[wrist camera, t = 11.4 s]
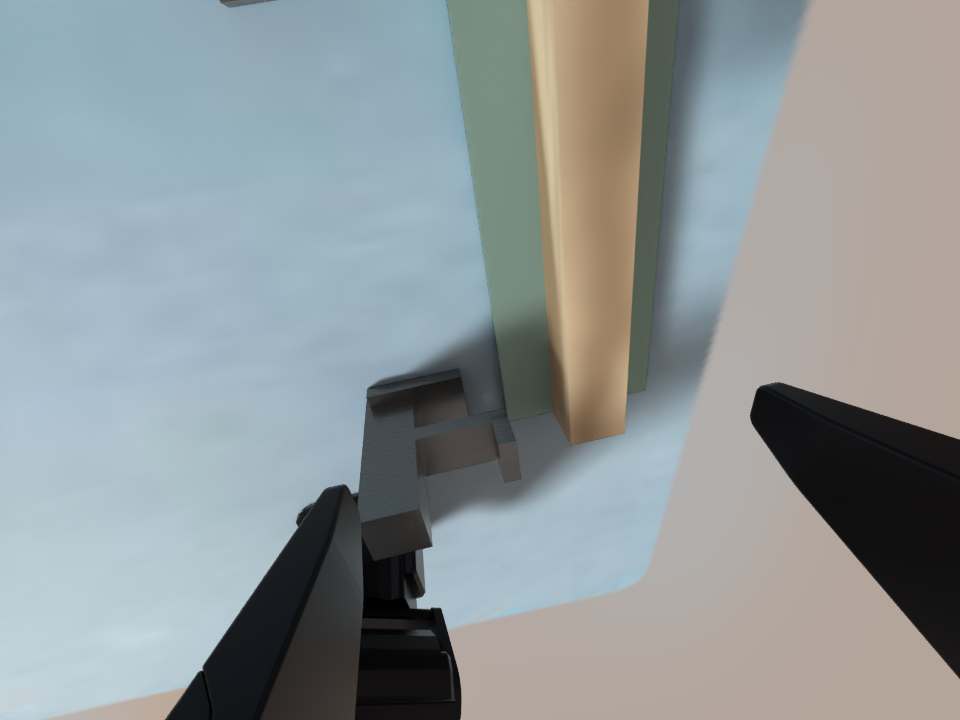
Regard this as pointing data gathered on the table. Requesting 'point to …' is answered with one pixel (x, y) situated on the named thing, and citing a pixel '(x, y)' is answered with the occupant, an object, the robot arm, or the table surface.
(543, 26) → the rail
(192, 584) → the table surface
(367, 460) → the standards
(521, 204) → the mat
